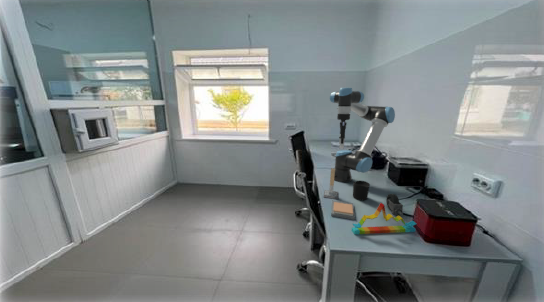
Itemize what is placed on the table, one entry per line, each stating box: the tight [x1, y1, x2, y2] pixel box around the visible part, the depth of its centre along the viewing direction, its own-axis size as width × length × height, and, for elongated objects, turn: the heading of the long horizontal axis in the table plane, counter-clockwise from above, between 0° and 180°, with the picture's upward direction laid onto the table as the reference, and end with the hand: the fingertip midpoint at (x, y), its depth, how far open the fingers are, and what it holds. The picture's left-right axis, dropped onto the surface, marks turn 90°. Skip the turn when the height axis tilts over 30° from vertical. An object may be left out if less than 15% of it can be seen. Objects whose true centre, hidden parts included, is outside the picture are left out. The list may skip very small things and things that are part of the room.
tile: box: [333, 202, 353, 216], centre depth 117 cm, size 2×10×10 cm
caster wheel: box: [385, 193, 404, 216], centre depth 117 cm, size 6×10×15 cm
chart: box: [351, 202, 417, 235], centre depth 99 cm, size 30×3×15 cm, turn 95°
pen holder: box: [352, 180, 371, 201], centre depth 134 cm, size 9×9×10 cm
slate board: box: [330, 199, 356, 221], centre depth 119 cm, size 16×12×2 cm
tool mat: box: [323, 190, 339, 200], centre depth 138 cm, size 11×9×1 cm
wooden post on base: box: [323, 167, 338, 197], centre depth 136 cm, size 8×8×18 cm
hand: (341, 146), depth 137 cm, fingers open, 13 cm apart
